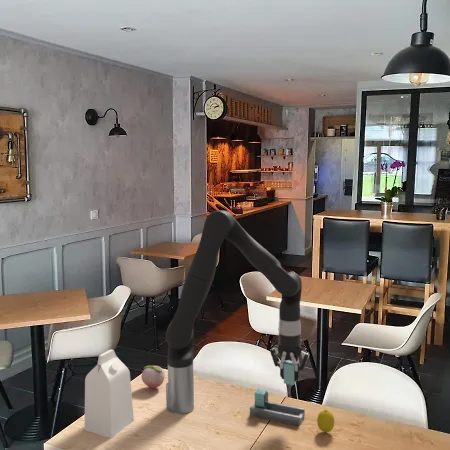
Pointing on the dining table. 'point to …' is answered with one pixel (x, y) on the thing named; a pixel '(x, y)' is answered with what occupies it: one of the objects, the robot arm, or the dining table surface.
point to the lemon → (325, 421)
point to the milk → (108, 396)
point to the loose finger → (288, 372)
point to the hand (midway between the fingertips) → (289, 379)
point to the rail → (275, 410)
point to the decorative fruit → (153, 376)
